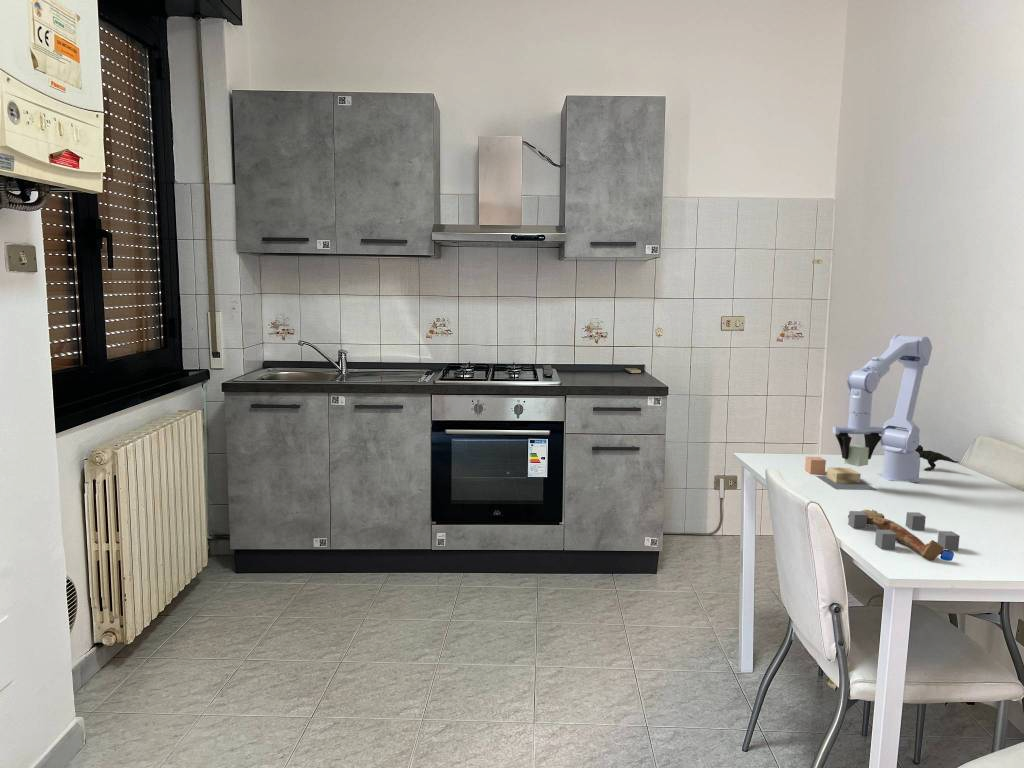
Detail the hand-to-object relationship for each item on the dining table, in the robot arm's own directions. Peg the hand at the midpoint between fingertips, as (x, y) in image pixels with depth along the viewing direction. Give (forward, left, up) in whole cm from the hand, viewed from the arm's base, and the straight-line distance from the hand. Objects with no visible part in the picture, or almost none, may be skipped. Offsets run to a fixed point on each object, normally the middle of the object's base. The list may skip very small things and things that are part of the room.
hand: (856, 458), depth 214 cm
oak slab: (0, -7, -8) cm, 11 cm away
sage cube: (0, 0, -2) cm, 2 cm away
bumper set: (+8, +43, -9) cm, 45 cm away
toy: (-36, -24, -9) cm, 44 cm away
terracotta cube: (+5, -16, -9) cm, 19 cm away
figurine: (+10, +43, -9) cm, 45 cm away
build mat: (+1, -4, -9) cm, 10 cm away
